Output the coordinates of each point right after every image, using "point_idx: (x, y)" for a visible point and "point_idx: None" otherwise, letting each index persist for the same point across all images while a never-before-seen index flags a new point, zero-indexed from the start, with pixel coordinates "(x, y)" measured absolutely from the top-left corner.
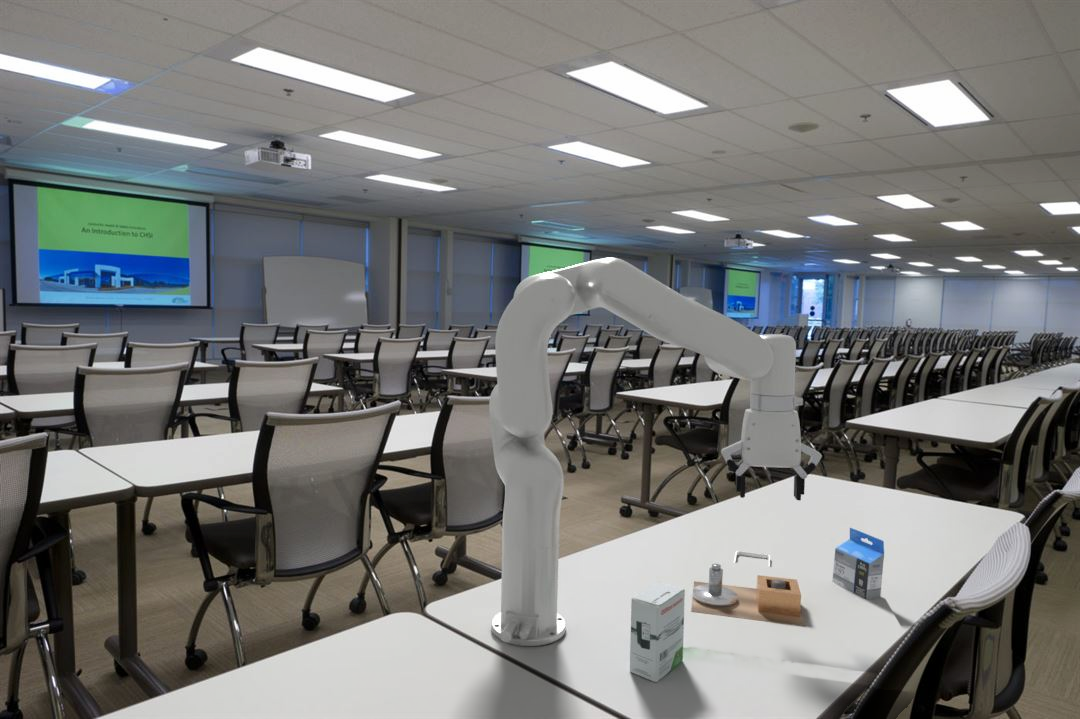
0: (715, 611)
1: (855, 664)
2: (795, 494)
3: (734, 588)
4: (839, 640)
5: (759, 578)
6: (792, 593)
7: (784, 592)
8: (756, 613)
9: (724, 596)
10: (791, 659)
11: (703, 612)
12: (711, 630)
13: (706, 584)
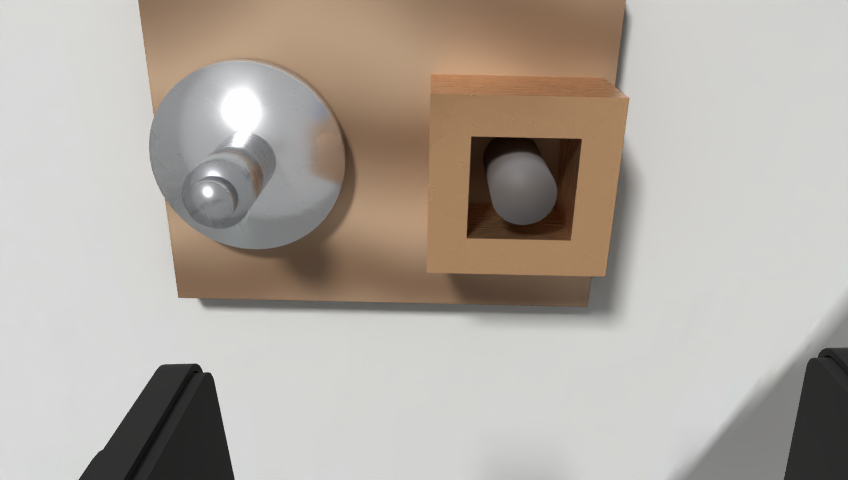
0: (265, 275)
1: (689, 430)
2: (810, 474)
3: (333, 12)
4: (692, 300)
5: (438, 137)
6: (569, 272)
7: (535, 269)
8: (419, 251)
9: (289, 185)
10: (505, 446)
11: (223, 294)
12: (267, 338)
13: (198, 70)
